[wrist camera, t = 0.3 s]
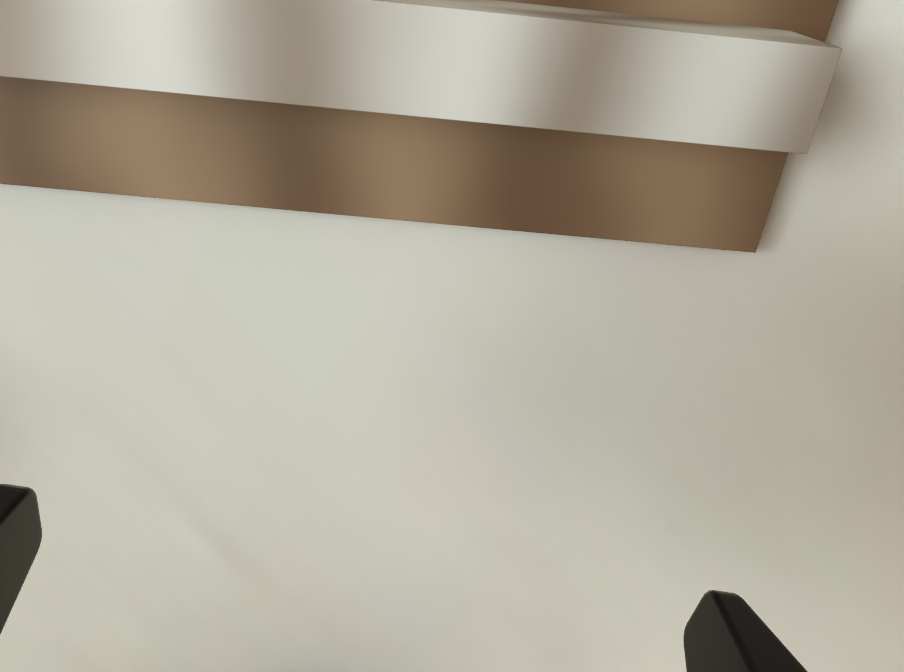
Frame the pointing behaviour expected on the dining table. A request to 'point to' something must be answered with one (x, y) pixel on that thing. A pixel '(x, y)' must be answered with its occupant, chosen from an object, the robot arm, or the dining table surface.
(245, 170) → the rail board
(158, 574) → the dining table surface
